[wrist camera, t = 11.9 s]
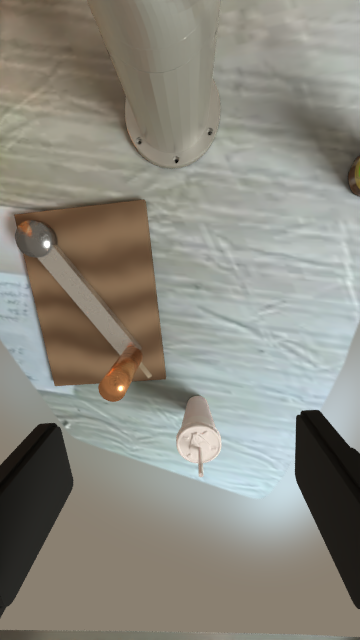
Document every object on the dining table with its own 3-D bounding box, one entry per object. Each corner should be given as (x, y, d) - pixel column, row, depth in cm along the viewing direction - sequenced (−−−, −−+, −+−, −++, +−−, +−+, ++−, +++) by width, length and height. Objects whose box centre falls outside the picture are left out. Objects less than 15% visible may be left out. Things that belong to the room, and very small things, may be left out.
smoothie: (185, 424, 44) (182, 497, 31) (174, 394, 43) (166, 456, 29) (219, 415, 43) (232, 486, 30) (209, 384, 42) (217, 444, 28)
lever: (18, 236, 36) (-62, 226, 25) (41, 214, 35) (-31, 193, 24) (129, 368, 40) (105, 410, 29) (152, 351, 39) (136, 388, 28)
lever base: (19, 216, 37) (13, 214, 36) (145, 201, 35) (144, 199, 34) (58, 382, 43) (54, 386, 42) (166, 375, 42) (165, 379, 41)
